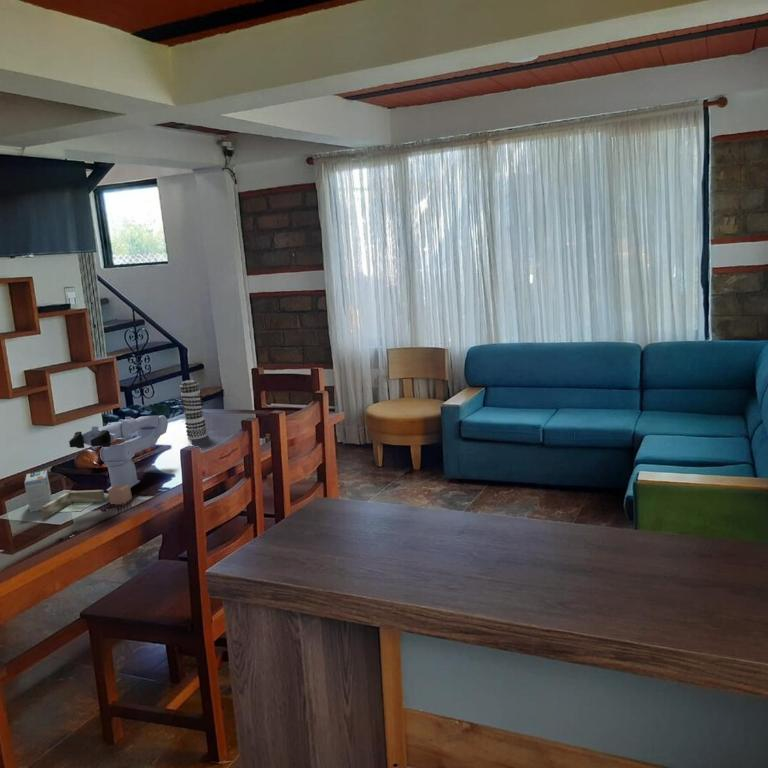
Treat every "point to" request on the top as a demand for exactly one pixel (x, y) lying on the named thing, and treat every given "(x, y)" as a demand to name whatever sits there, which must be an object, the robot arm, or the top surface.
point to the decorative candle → (193, 409)
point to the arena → (73, 497)
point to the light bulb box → (37, 490)
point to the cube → (119, 494)
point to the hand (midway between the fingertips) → (81, 443)
